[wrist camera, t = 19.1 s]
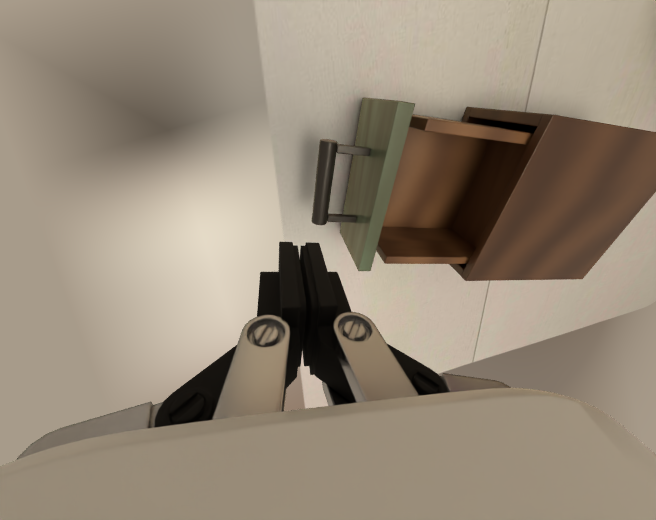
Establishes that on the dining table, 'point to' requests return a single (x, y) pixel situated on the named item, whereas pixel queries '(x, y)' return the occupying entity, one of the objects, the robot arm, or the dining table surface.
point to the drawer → (417, 184)
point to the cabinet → (562, 196)
